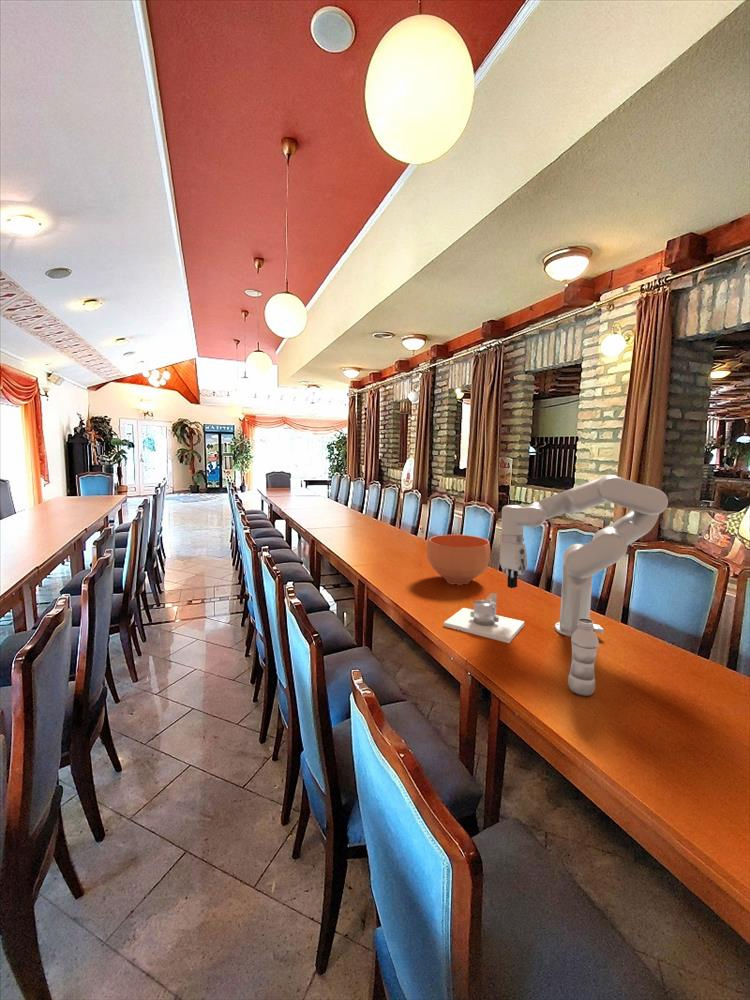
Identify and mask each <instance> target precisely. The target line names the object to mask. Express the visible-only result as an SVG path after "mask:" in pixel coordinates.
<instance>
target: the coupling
mask: <svg viewBox="0 0 750 1000" xmlns="http://www.w3.org/2000/svg"><path fill="white" fill-rule="evenodd" d="M497 595H498V593H494V592H490V593H489V594H488V595H487V596H486V598H485V599H479V600H478V599H477V600H475V601H473V610H474V612H473V611H471V613H470V617H473V621H474V622H475V623H477V624H480V625H486V626H489V625H494V624H495V623H496V622H499V616H500V615H498V616H496V615H497V599H498V598H497V597H498V596H497Z"/></svg>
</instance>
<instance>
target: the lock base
mask: <svg viewBox="0 0 750 1000" xmlns="http://www.w3.org/2000/svg"><path fill="white" fill-rule="evenodd" d="M471 611H473V612H474V609H471V608H467V607H462V608H461V609H459V611H457V612H456V613H454V614H453V615H452V616H451V617H449V618H448V619H445V621H444V622H443V627H446V628H449V629H454V630H456V629H457V631H460V630H461V632H464V633H469V634H472V635H477V636H481V637H483V638H487V639H491V640H495V641H499V642H503V643H507V644H510V643H511V642H512V641H513V639H514V638H515V637H516V636H517V635H518V634H519V632H520V631H521V630H522V628H524V627H525V621H524V620H520V619H515V618H510V617H505V616H502V615H497V614H496V616H499V622H496V623H495V624H494V625H489V626H486V625H480V624H477V623H475V622H474V621H473V617H470V613H471Z"/></svg>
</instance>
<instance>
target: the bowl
mask: <svg viewBox="0 0 750 1000" xmlns="http://www.w3.org/2000/svg"><path fill="white" fill-rule="evenodd" d="M490 543H491V542H490V540H488V539H486V538H484V537H480V536H475V535H469V534H468V535H467V534H441V535H435V536H431V537H430V538H429V539H428V542H427V548H426V553H427V554H426V556H427V559H428V562H429V565H430V566H431V567H432V569H433V571H435V572H436V573H437V574H438V575H439V576H441V577H442V578H443V579H445V582H446V581H447V582H448V584H450V585H454V584H457V585H456V586H463V585H462V584H466V585H468V584H470V581H472V580H473V579H475V578H477V577H478V576H480V575H482V574H483V573H484V572H485V570H486V569H487V568H488V567H489V564H490V561H491V553H492V552H491V551H492V550H491V544H490ZM447 582H446V583H447Z"/></svg>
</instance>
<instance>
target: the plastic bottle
mask: <svg viewBox="0 0 750 1000" xmlns="http://www.w3.org/2000/svg"><path fill="white" fill-rule="evenodd" d="M593 625H595V623H594V621H593V619H591V618H590V619H586V618H579V619H578V624H577V626H578V629H577V630H576V631H575V632H574V633H573V634H572V637H570V643H571V665H570V669H569V670H570V671H569V674H568V676H567V685H568V687H569V689H570V691H571V692H573V693H574V694H576V695H580V696H591V695H592V694H593V693H594V692H595V689H596V679H595V678H596V677H595V663H596V657H597V652H598V648H599V638H598V637H597V634H596V632H593V629H594V626H593Z"/></svg>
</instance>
